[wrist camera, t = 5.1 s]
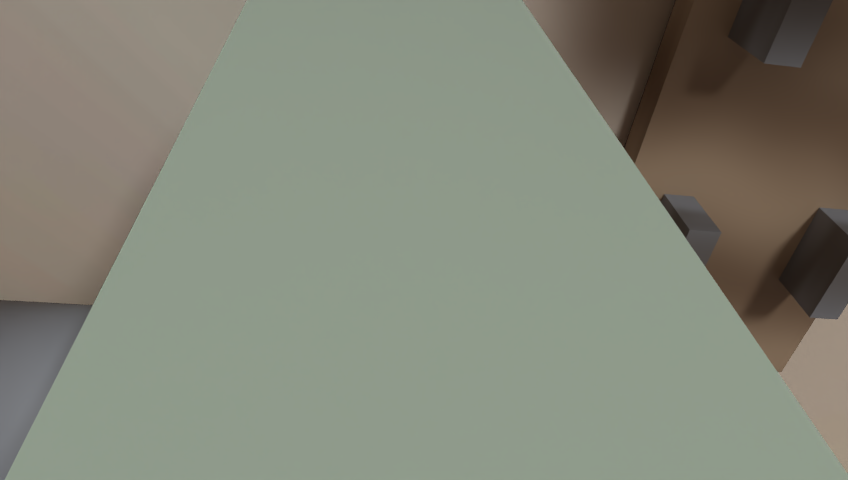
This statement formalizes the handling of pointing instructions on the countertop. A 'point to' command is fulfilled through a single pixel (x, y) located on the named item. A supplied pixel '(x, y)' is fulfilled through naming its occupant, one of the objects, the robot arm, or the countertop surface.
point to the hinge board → (755, 155)
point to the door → (398, 283)
